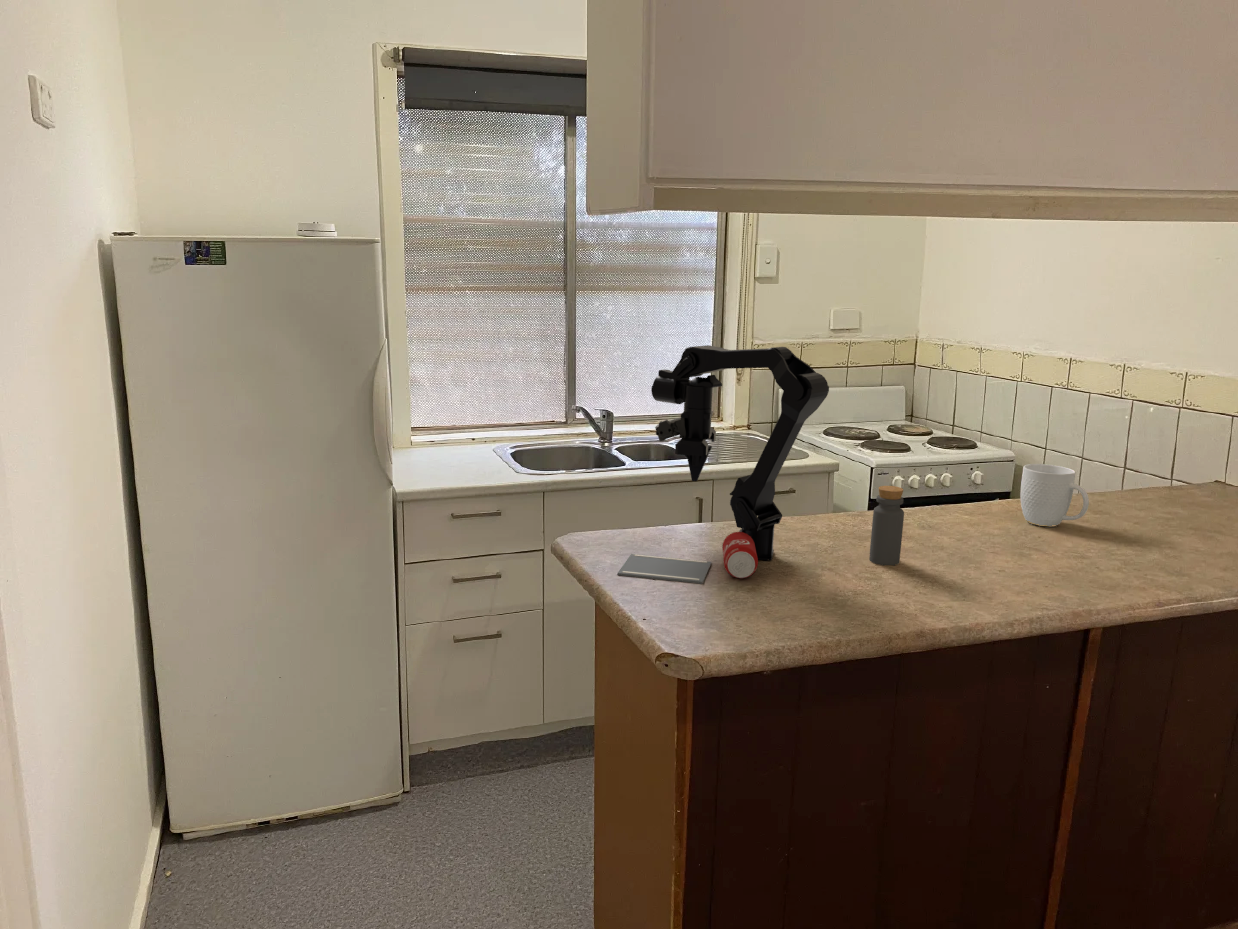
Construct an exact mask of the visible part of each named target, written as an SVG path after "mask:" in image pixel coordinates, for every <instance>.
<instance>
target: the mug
mask: <svg viewBox="0 0 1238 929" xmlns="http://www.w3.org/2000/svg"><path fill="white" fill-rule="evenodd" d="M1075 478H1076V471H1075V470H1074V469H1071V468H1069V467H1065V466H1061V465H1055V464H1046V463H1029V464H1028V463H1027V464H1025V465H1023V467H1022V475H1021V483H1020V494H1019V496H1020V506H1021V512H1022V515H1023V518H1024V519H1025V521H1026V520H1027V521H1030V522H1032V523H1035V524H1039V525H1047V526H1052V525H1058V524H1059V525H1060V524H1061V523H1062V522H1063V521H1075V520H1079V519H1081V518H1082V517H1084V516H1085V514H1086V513H1087V512H1088V509H1089V505H1090V504H1089V503H1090V500H1089V495H1088V493H1087V490H1086V489H1084V487H1082V486H1081V485H1080V484H1076V483H1075V482H1076V481H1075ZM1074 490H1076V491H1078V492H1079V493H1080V494H1081V496H1082V502H1083V503H1082V504H1083V505H1082V509H1081V511H1080V512H1078V514H1075V515H1071V516H1070V515H1067V513H1068V511H1069V509H1070V506H1071V503H1072V499H1073V494H1074ZM1027 521H1026V522H1027ZM1059 525H1058V526H1059Z"/></svg>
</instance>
